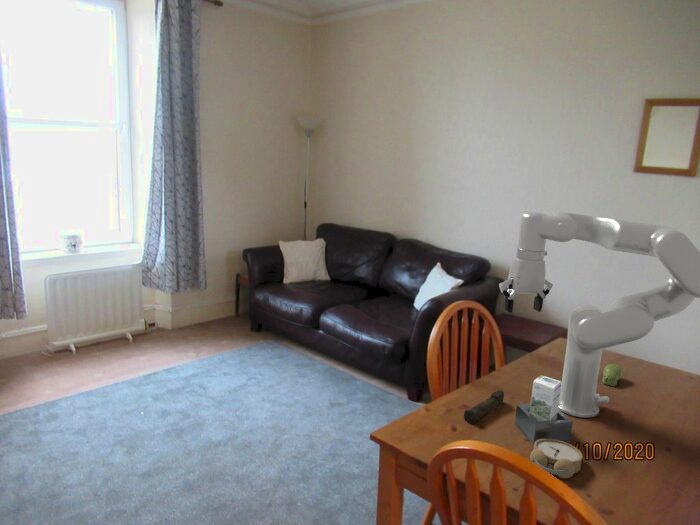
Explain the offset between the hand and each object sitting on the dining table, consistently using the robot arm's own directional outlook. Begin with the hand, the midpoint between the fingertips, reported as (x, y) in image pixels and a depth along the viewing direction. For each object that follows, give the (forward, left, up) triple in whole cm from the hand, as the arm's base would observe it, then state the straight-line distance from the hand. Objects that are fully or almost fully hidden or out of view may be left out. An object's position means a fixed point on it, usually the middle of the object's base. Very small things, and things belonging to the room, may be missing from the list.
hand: (522, 310), depth 155 cm
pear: (-39, -8, -28) cm, 49 cm away
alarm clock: (+6, +35, -29) cm, 45 cm away
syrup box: (+2, +21, -27) cm, 34 cm away
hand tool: (+13, +8, -29) cm, 32 cm away
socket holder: (+2, +21, -28) cm, 35 cm away
